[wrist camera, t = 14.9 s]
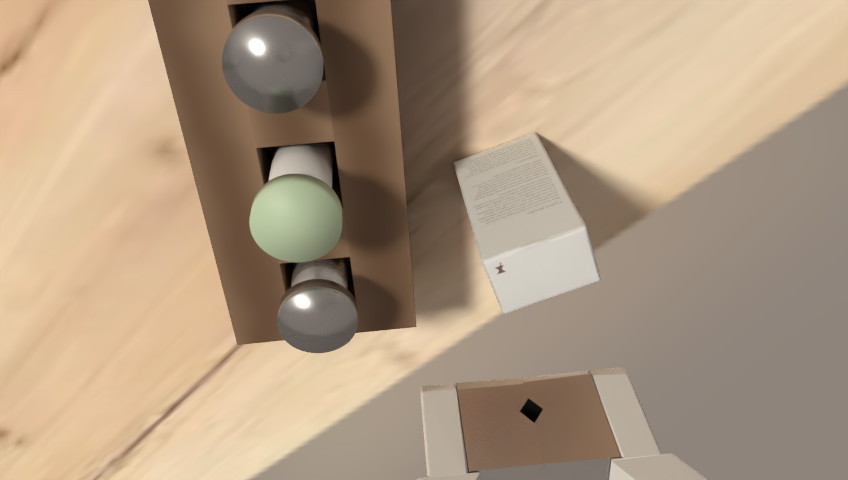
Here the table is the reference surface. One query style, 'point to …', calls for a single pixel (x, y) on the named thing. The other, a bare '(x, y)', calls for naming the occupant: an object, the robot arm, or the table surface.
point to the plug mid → (298, 204)
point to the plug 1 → (275, 56)
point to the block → (312, 123)
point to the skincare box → (525, 224)
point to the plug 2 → (318, 307)
